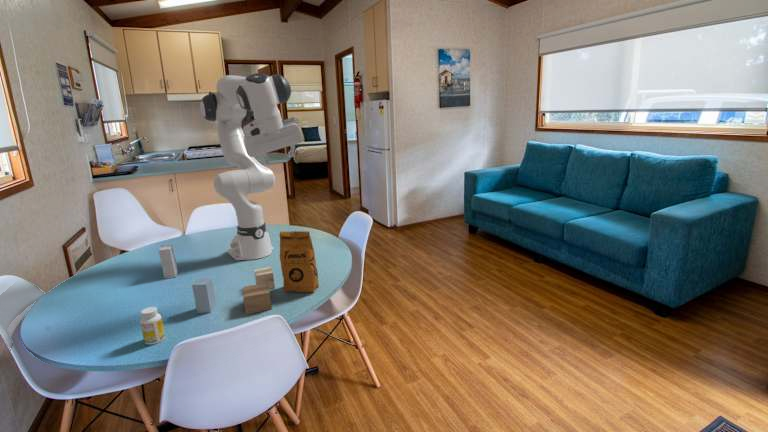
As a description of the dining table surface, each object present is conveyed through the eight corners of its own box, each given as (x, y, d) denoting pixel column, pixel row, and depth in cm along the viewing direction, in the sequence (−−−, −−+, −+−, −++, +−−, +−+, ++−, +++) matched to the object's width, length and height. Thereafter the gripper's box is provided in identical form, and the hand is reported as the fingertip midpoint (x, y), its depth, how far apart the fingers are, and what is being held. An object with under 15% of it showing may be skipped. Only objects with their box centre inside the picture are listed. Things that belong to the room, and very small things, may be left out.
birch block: (256, 284, 149) (254, 269, 148) (272, 281, 151) (270, 266, 150) (257, 291, 144) (255, 275, 142) (274, 287, 146) (272, 272, 145)
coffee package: (314, 295, 138) (308, 235, 133) (280, 294, 140) (273, 235, 135) (322, 283, 148) (317, 226, 142) (290, 282, 150) (284, 226, 144)
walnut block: (246, 303, 135) (243, 286, 134) (270, 298, 138) (268, 282, 136) (245, 313, 128) (243, 296, 126) (271, 309, 130) (269, 292, 129)
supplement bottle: (148, 347, 112) (141, 316, 109) (141, 341, 115) (134, 311, 113) (168, 338, 116) (162, 308, 113) (161, 332, 119) (154, 303, 117)
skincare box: (176, 277, 160) (170, 248, 156) (163, 279, 158) (158, 250, 155) (178, 271, 165) (173, 244, 162) (166, 273, 164) (160, 245, 161)
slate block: (197, 313, 130) (192, 285, 127) (203, 306, 134) (198, 279, 132) (210, 312, 130) (206, 284, 127) (216, 305, 134) (211, 278, 132)
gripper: (295, 113, 143) (303, 149, 151) (238, 129, 136) (249, 165, 143) (300, 118, 138) (309, 154, 146) (242, 134, 131) (254, 171, 138)
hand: (279, 160), depth 144 cm, fingers open, 8 cm apart
